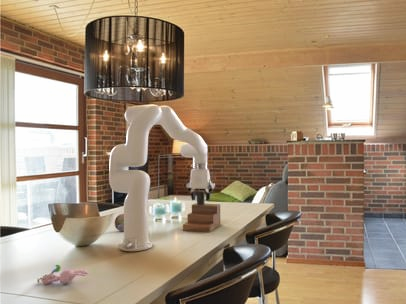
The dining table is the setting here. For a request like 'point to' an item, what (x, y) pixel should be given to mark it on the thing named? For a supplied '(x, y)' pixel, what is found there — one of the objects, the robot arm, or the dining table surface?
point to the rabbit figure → (61, 276)
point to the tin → (119, 222)
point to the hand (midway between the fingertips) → (200, 200)
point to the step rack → (203, 218)
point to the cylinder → (200, 198)
